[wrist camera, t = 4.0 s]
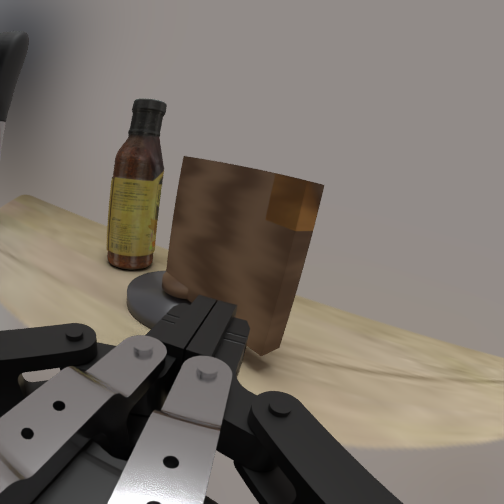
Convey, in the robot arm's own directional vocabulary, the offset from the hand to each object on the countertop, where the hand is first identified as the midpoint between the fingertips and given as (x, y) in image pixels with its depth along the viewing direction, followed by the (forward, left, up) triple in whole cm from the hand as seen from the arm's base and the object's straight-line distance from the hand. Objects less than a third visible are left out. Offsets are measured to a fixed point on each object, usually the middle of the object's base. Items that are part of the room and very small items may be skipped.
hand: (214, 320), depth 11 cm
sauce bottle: (-16, +20, -8) cm, 27 cm away
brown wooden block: (-3, +12, -6) cm, 13 cm away
